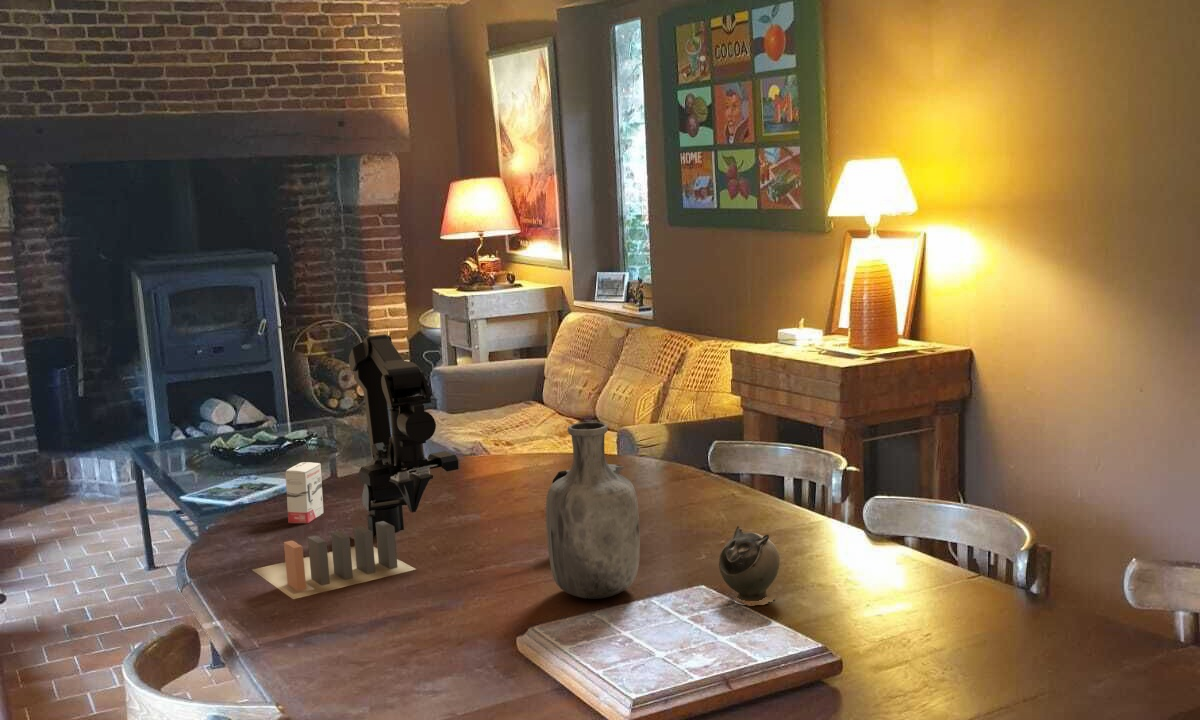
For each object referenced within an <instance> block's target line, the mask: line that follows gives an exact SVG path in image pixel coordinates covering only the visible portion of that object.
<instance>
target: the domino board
mask: <svg viewBox="0 0 1200 720" xmlns="http://www.w3.org/2000/svg"><path fill="white" fill-rule="evenodd" d="M350 548H351V560H352V572H353V578H351V579H347V580H344V579H342V578H341V577H339V576H338V575H336V574H334V564H333V552H332V551H329V552H328V551H327V555H328V567H329V578H330V584H326V585H320V584H318V583H317V582H315V581H314V580H312V579H311V569H310V557H309V556H306V557H303V558H304V569H305V580H306V589H305V590H301V591H297V590H295V589H294V588H292V587H291V586H289V585H288V584H287V573H286V562H285V561H284V562H280V563H275V564H271V565H266V566H263V567H262V566H261V567H258V568H253V569H251V571H252V572H253V573H255V574H257V575H258V576H259V577H261V578H263V579H264V580H265V581H267V582H268V583H270V584H271V585H272V586H273V587H275V588H276V589H278V590H279V591H281V592H282V593H283V594H285V595H286V596H288V597H289V598H291V599H292V600H296V599H300V598H305V597H309V596H312V595H313V596H314V595H317V594H321V593H326V592H329V591H334V590H338V589H341V588H344V587H349V586H350V587H351V586H353V585H357V584H362V583H367V582H370V581H374V580H378V579H382V578H386V577H391V576H395V575H401V574H403V573H408V572H411V571H415V570H417V568H415V567H413V566H411V565H410V564H408V563H405V562H404V561H402V560H400V559H398V558H397V566H398V567H397V568H393V569H388V568H387V567H385V566H383V565H381V564H379V561H378V548H377V547H375V546H374V545H373V548H374V560H375V572H376V573H372V574H368V575H367V574H366V573H364V572H362V571H361V570H359V569H357V565H356V553H355V546H350Z"/></svg>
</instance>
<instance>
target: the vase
mask: <svg viewBox="0 0 1200 720" xmlns="http://www.w3.org/2000/svg"><path fill="white" fill-rule="evenodd" d="M608 429H609V428H608V424H606V423H603V422H597V421H587V422H585V421H584V422H577V423H574V424H570V425H568V426H567V432H568V433H567V434H568V435H570V436H571V443H572V453H573V454H572V457H573V459H572V464H571V467H570V468H569V469H568V470H569V472H568V473H567V474H566V476H564V477H562V478H560V479H558V480H557V481H555V482H554V483H553V484H552V483H551V485H550V487H549V489H548V490H547V494H546V501H545V519H546V521H545V524H546V539H547V551H548V558H549V565H550V571H551V574H552V578H553V580H554V582H555V584H556V585H557V586H558V587H559V589H560V590H562V591H563V592H565V593H567V594H569V595H571V596H573V597H576V598H582V599H587V598H588V599H589V600H590V599H591V600H595V599H605V598H610V597H613V596H615V595H618V594H620V593H622V592H624V591H626V590H627V589H628V588H629V587H630V586H631V585H632V584H633V583H634V582H635V580H636V578H637V576H638V572H639V566H640V565H639V564H640V544H641V543H640V536H641V535H640V517H639V506H638V505H639V504H638V498H637V493H636V490H635V487H634V485H633V483H632V481H630V479H628V478H627V477H626V476H623V475H621V474H620V473H619V474H616V473H614V472H613V471H612V470H611V469H610V467H609V466H608V464H609V463H608V462H607V460H606V459H607V458H606V453H605V434H606V433H607V432H608Z"/></svg>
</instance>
